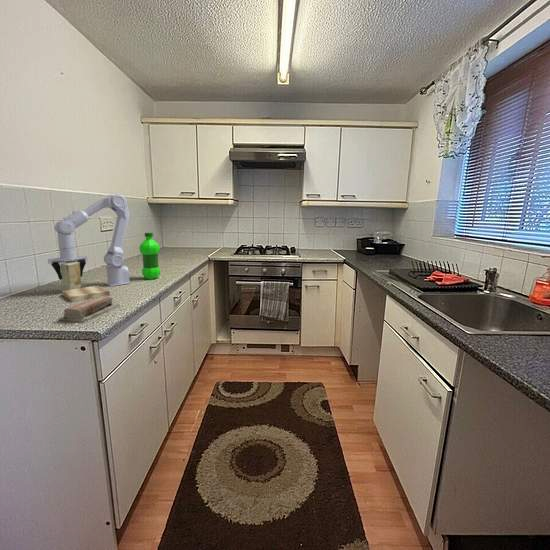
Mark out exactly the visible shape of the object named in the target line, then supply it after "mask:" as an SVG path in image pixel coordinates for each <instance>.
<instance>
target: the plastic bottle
mask: <svg viewBox="0 0 550 550" xmlns="http://www.w3.org/2000/svg"><path fill="white" fill-rule="evenodd" d="M144 237H145V240H143V241H142V242H141V243H140V245H139V248H138V249H139V253H140V254H141V255H142V265H143V266H142V270H141V275H142V276H143V278H146V279H147V278H148V279H147V280H153V279H152V278H156V279H157V278H158V277H159V276H160V275H161V273H162V272H161V268H160V267H159V255H158V254H160V249H161V247H160V245H159V243H158V242H156V240H154V239H153V237H154V233H153V232H144Z"/></svg>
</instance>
